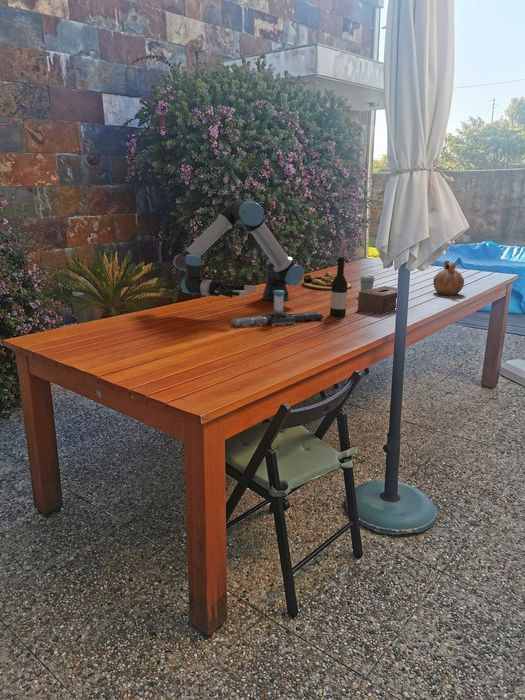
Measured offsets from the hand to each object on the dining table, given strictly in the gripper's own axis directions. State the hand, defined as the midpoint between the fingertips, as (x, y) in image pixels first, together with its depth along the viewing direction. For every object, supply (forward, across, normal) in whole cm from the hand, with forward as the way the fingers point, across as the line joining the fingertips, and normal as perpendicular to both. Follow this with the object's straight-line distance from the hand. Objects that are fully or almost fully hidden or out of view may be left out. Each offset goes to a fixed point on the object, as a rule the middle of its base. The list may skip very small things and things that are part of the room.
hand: (251, 291), depth 269 cm
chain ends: (+13, -2, -14) cm, 19 cm away
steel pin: (+13, -2, -14) cm, 19 cm away
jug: (+84, -116, -16) cm, 144 cm away
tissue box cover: (+54, -56, -16) cm, 79 cm away
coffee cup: (+40, -84, -16) cm, 95 cm away
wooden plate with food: (+10, -106, -16) cm, 108 cm away
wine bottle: (+36, -28, -15) cm, 48 cm away
